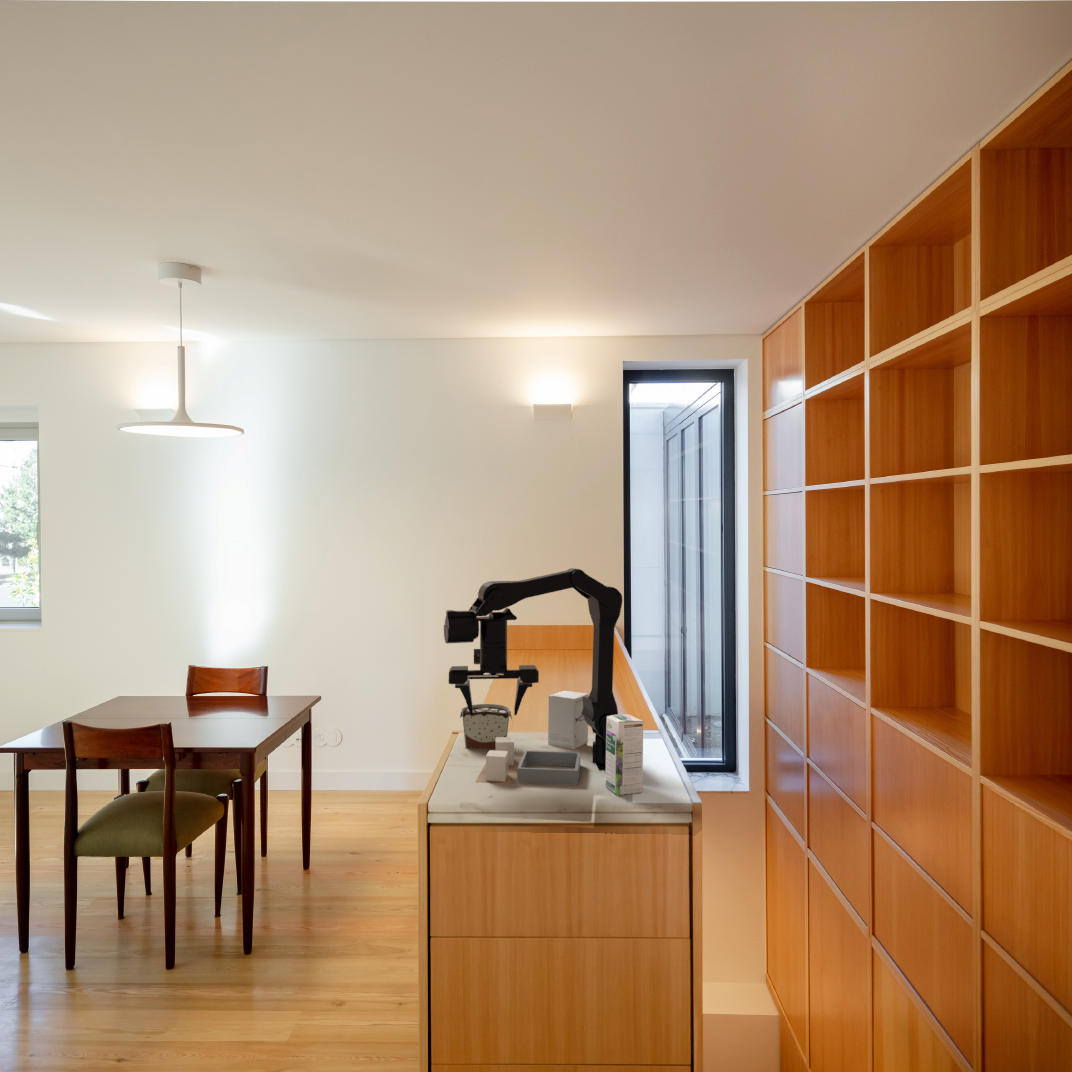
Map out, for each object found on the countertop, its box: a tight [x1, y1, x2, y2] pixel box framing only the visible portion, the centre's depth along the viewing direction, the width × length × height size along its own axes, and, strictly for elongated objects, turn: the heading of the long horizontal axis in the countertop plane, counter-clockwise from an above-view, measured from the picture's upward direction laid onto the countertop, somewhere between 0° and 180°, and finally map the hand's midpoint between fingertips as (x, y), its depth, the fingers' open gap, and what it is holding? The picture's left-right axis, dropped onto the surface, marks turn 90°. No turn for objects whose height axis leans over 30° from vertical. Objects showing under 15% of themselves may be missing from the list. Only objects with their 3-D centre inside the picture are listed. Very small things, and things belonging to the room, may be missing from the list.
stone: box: [485, 749, 508, 781], centre depth 147 cm, size 4×4×5 cm
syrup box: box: [604, 713, 644, 796], centre depth 143 cm, size 6×6×14 cm
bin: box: [516, 749, 581, 786], centre depth 150 cm, size 12×12×4 cm
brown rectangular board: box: [474, 757, 521, 785], centre depth 152 cm, size 8×16×1 cm, turn 174°
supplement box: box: [547, 690, 589, 750], centre depth 172 cm, size 7×7×13 cm
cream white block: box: [494, 736, 515, 765], centre depth 157 cm, size 4×4×5 cm
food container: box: [459, 703, 513, 750], centre depth 170 cm, size 12×6×10 cm, turn 84°
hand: (493, 715), depth 151 cm, fingers open, 9 cm apart
